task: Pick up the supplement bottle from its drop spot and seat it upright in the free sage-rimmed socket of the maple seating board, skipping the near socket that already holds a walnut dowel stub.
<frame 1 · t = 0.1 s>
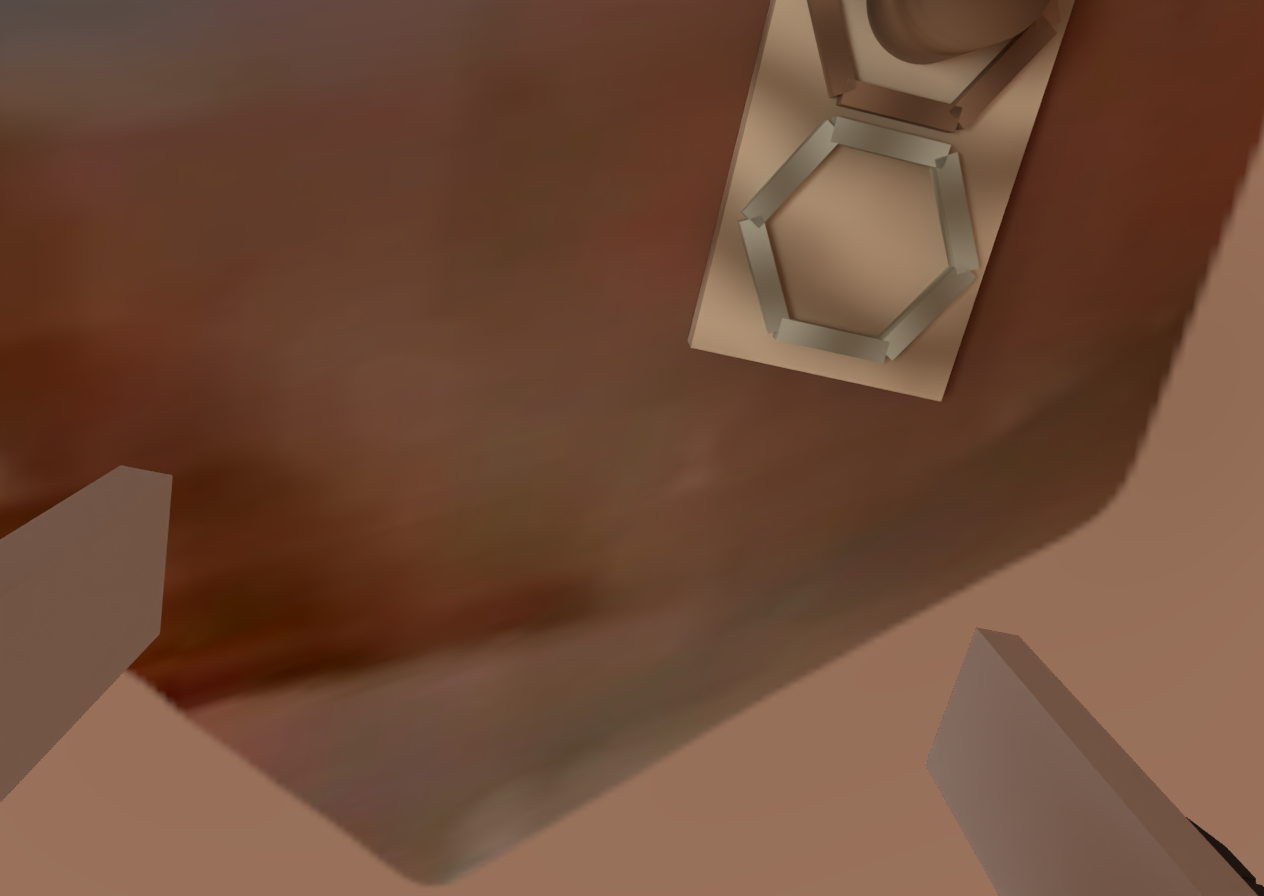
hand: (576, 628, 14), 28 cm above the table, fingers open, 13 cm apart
seating board: (879, 127, 39), on the table
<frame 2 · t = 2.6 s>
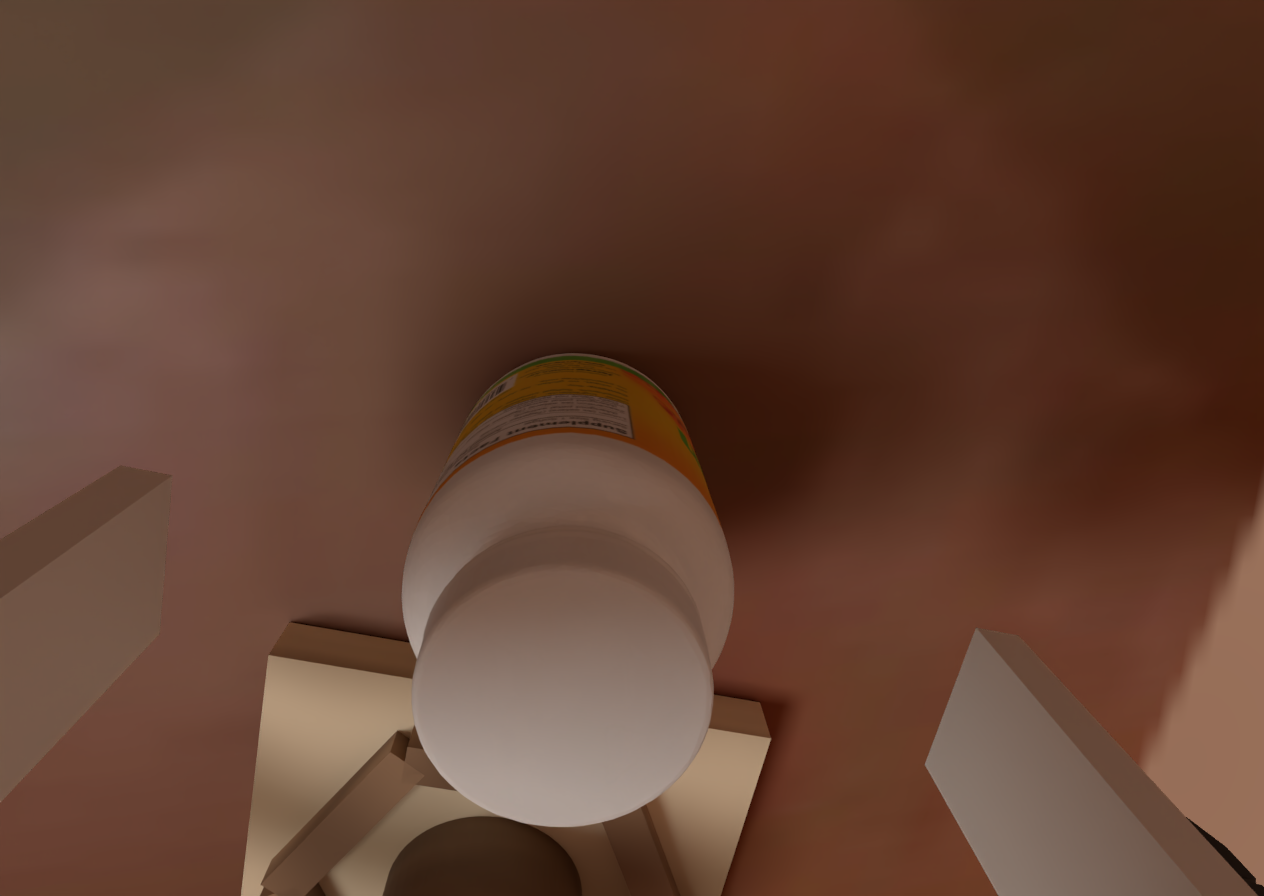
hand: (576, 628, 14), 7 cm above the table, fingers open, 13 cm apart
supplement bottle: (575, 458, 21), on the table
walnut dowel stub: (484, 895, 23), point 1 cm above the table, touching seating board
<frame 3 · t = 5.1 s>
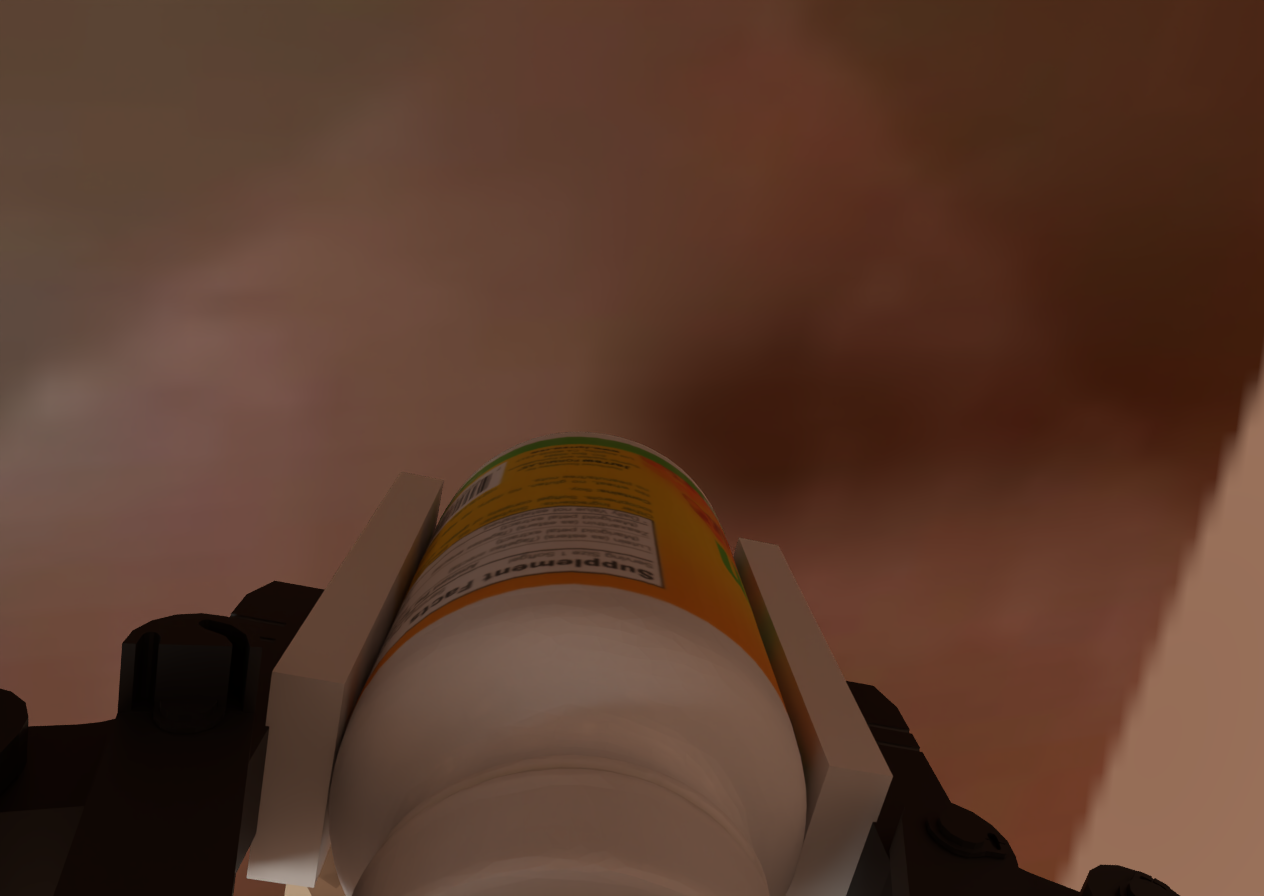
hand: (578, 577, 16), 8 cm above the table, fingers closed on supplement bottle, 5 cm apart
supplement bottle: (581, 559, 17), point 7 cm above the table, touching gripper
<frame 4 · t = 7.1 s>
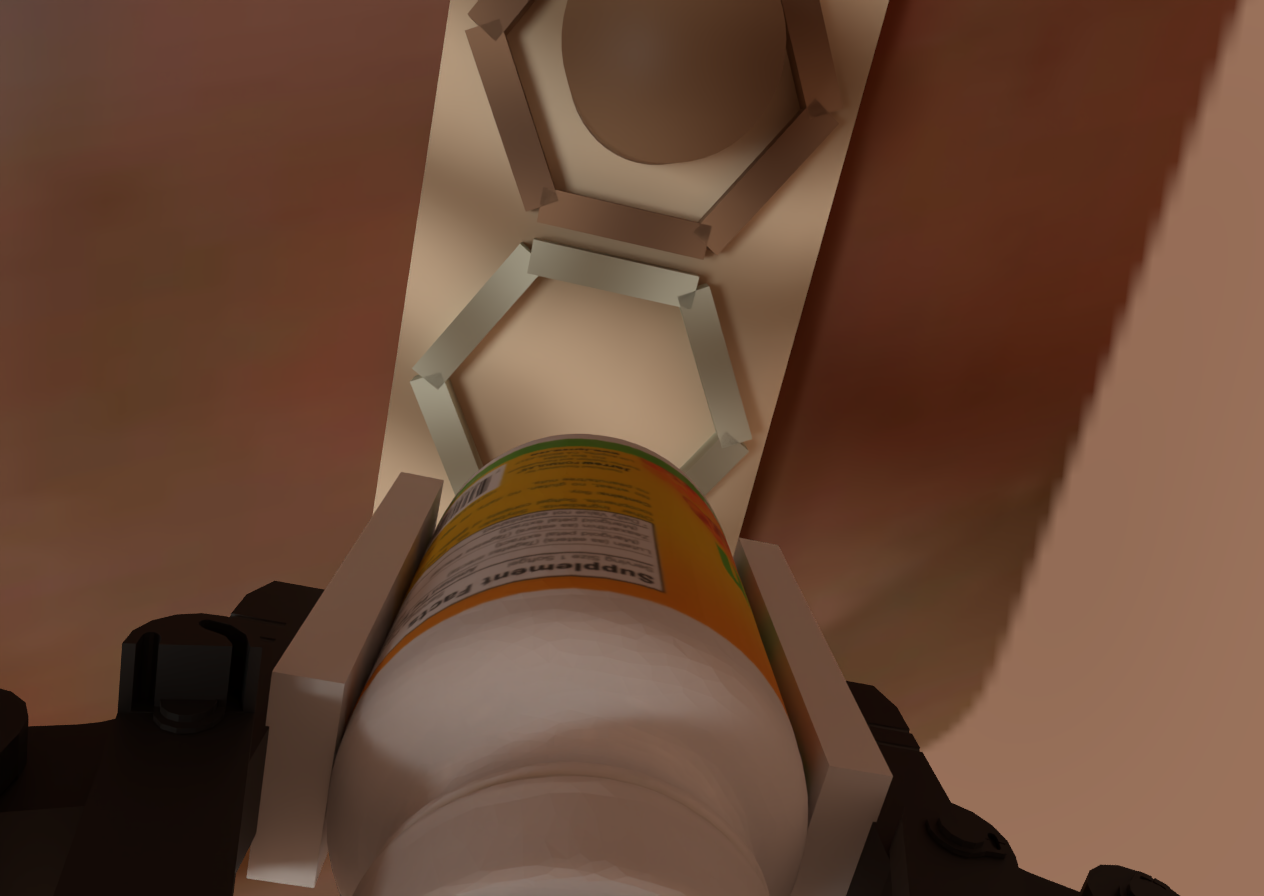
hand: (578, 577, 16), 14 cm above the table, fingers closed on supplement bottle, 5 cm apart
supplement bottle: (581, 561, 17), point 14 cm above the table, touching gripper
seating board: (617, 243, 28), on the table
walnut dowel stub: (656, 73, 25), point 1 cm above the table, touching seating board
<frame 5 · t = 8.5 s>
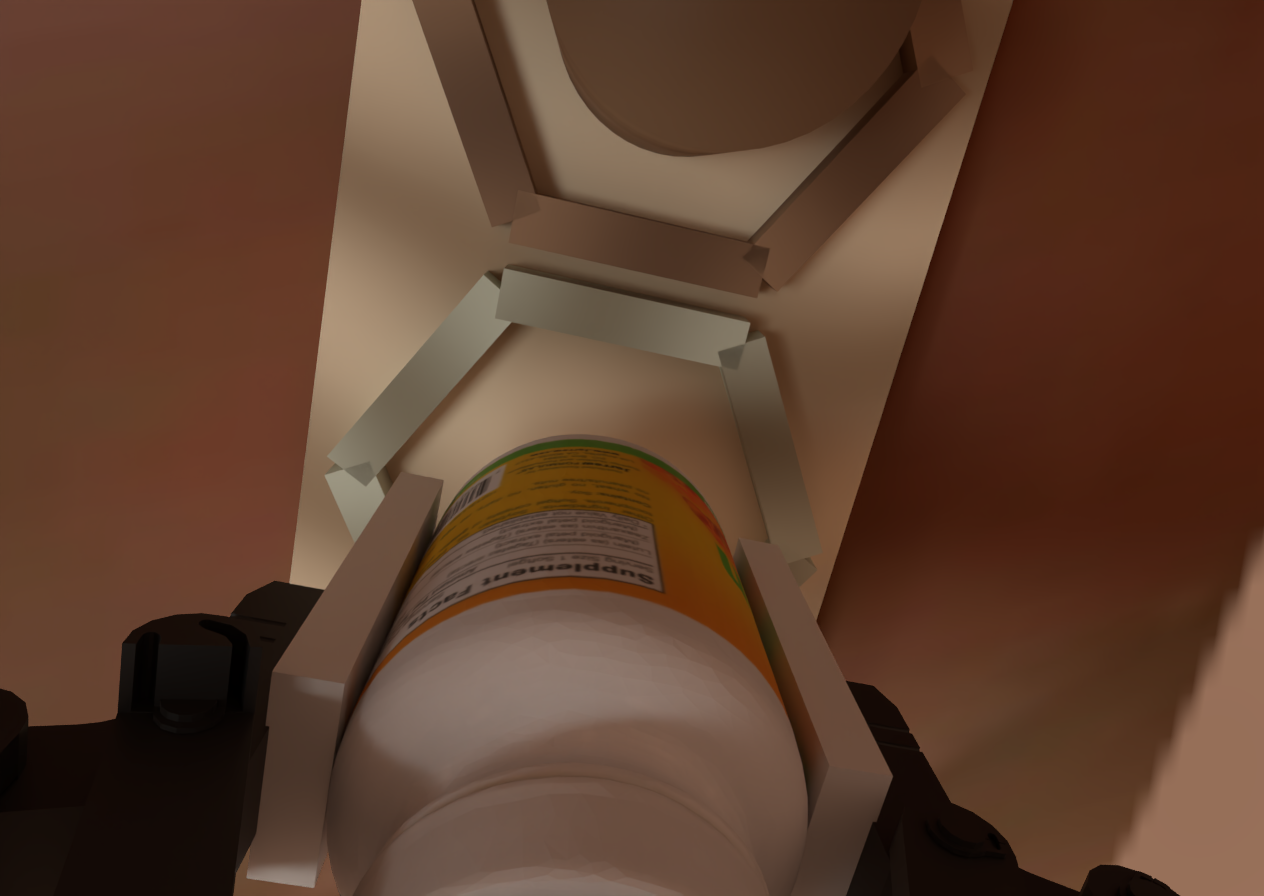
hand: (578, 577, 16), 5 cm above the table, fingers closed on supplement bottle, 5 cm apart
supplement bottle: (581, 562, 17), point 5 cm above the table, touching gripper
seating board: (627, 270, 20), on the table
walnut dowel stub: (688, 18, 17), point 1 cm above the table, touching seating board
when the fingers open (4 cm above the table, at t = 9.6 s): supplement bottle drops 2 cm, resting on seating board.
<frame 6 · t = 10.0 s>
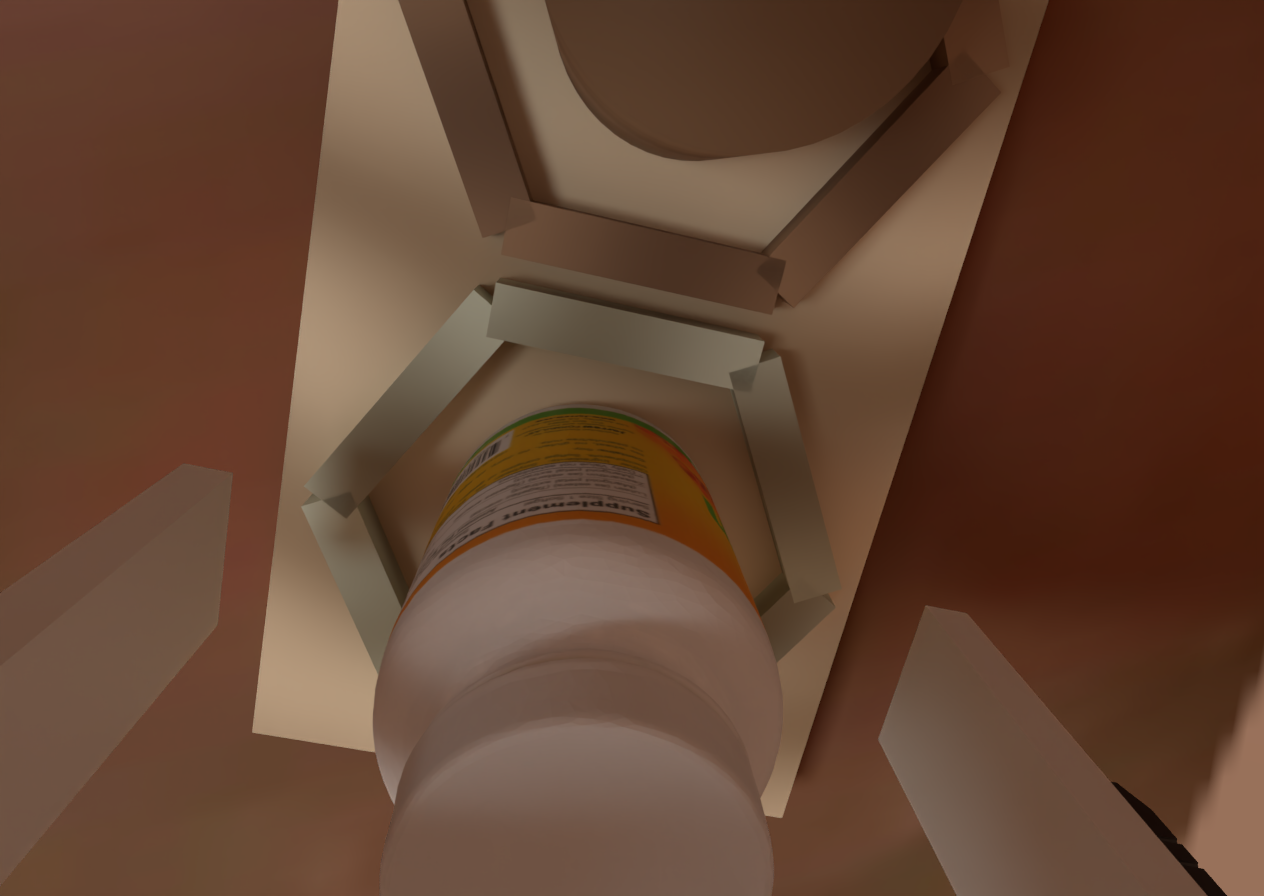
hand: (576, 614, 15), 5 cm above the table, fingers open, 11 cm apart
supplement bottle: (580, 522, 18), point 1 cm above the table, touching seating board
seating board: (630, 283, 18), on the table
walnut dowel stub: (697, 9, 15), point 1 cm above the table, touching seating board
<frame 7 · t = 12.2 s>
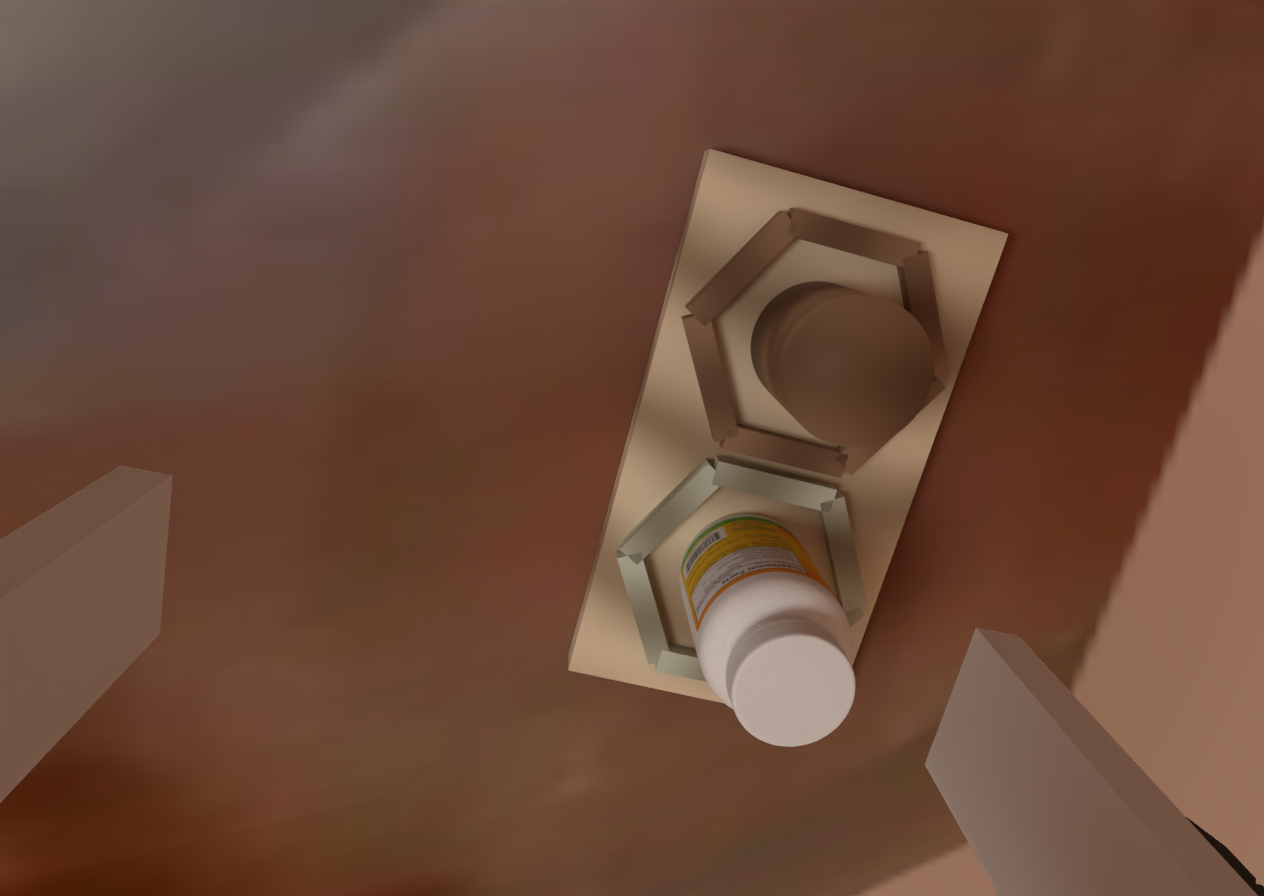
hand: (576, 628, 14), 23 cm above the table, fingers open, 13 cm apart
supplement bottle: (740, 569, 37), point 1 cm above the table, touching seating board
seating board: (768, 454, 37), on the table
walnut dowel stub: (813, 345, 35), point 1 cm above the table, touching seating board
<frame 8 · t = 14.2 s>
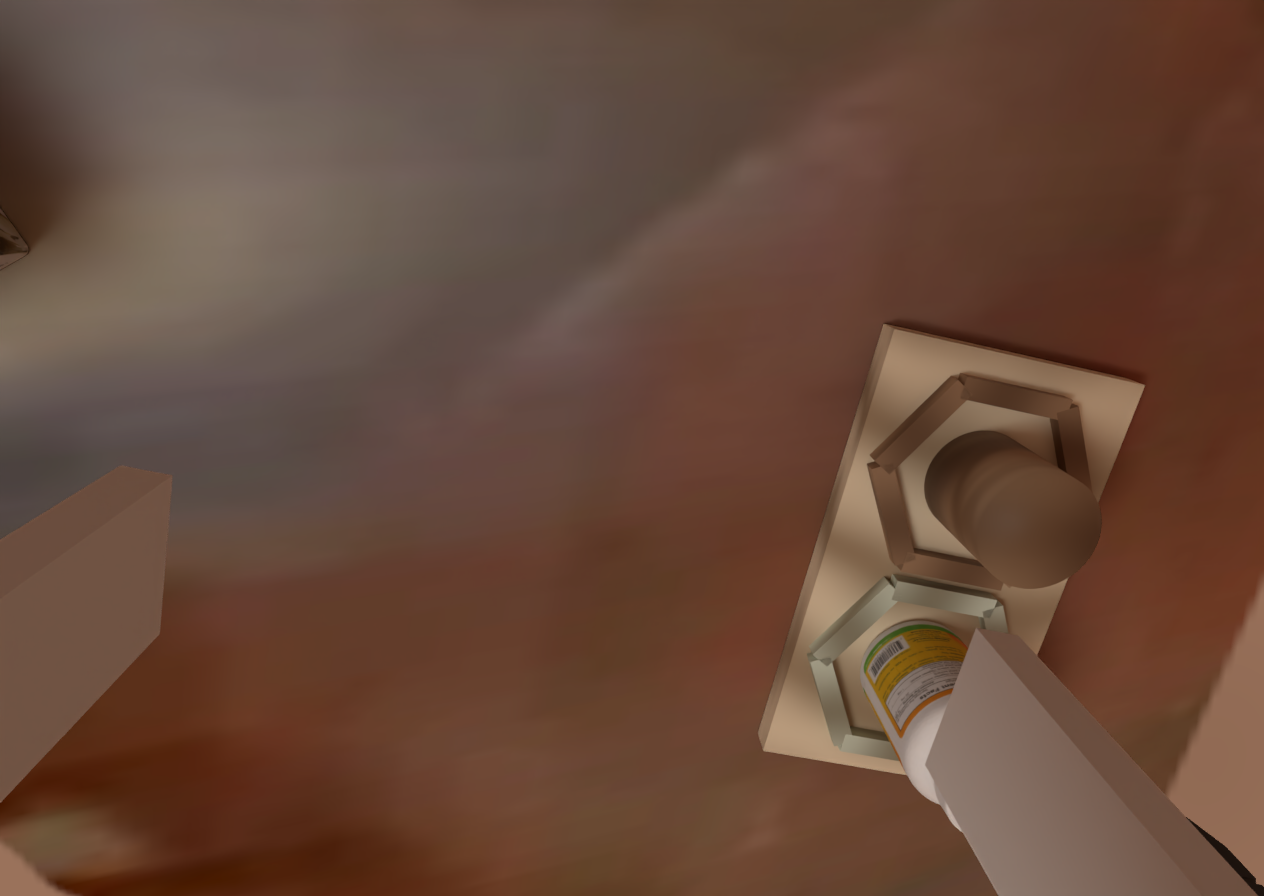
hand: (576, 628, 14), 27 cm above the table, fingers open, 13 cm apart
supplement bottle: (910, 663, 44), point 1 cm above the table, touching seating board
seating board: (931, 565, 44), on the table
walnut dowel stub: (977, 482, 41), point 1 cm above the table, touching seating board
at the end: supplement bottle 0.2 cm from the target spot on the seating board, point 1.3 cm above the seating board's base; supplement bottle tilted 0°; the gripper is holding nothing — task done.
